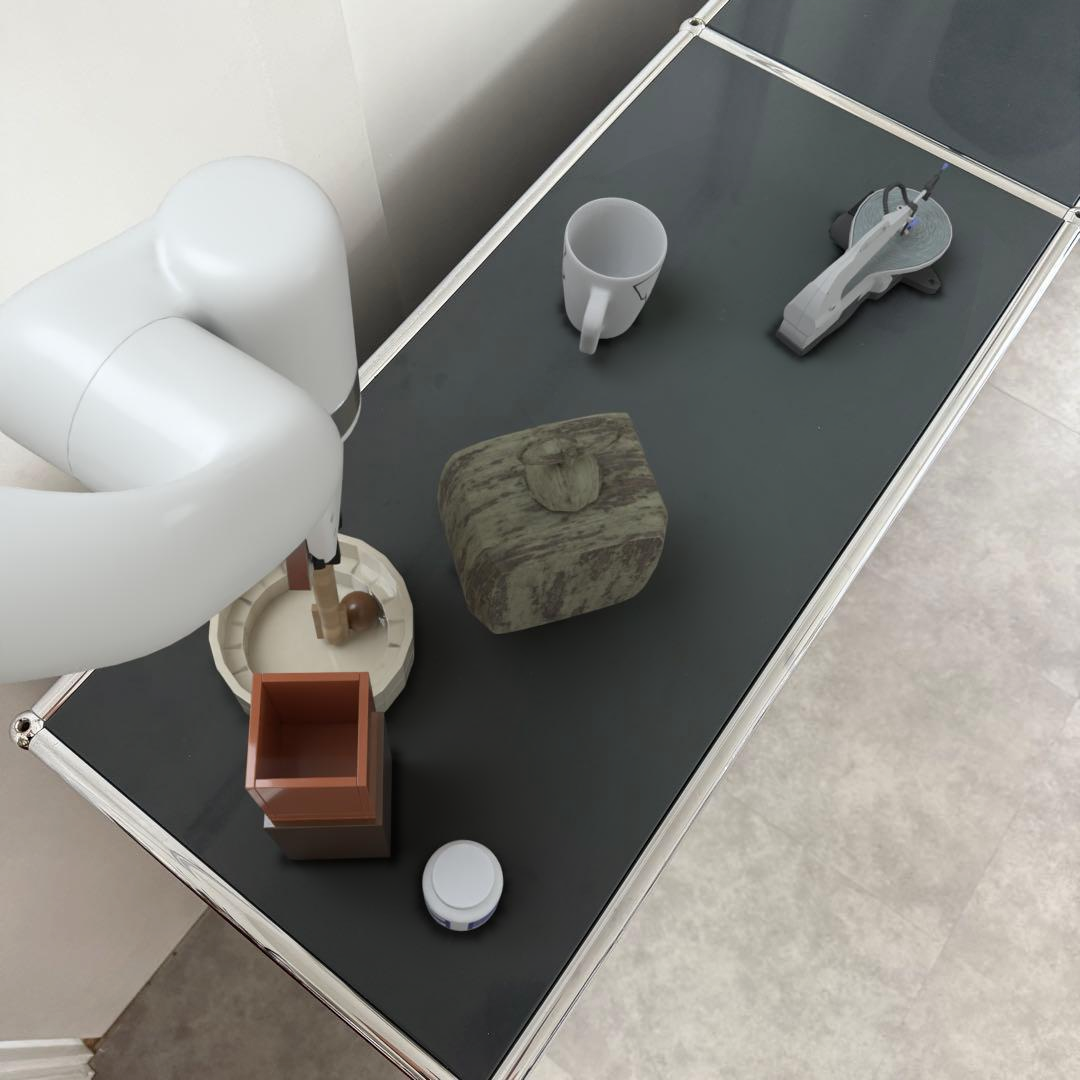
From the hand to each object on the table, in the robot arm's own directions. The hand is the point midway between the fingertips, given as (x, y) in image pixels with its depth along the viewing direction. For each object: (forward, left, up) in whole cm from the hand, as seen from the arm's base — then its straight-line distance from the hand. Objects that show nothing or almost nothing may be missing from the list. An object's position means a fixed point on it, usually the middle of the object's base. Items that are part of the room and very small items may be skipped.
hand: (316, 542), depth 70 cm
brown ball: (+2, 0, -14) cm, 14 cm away
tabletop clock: (+16, +3, -16) cm, 23 cm away
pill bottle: (+9, -20, -16) cm, 27 cm away
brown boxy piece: (+1, -14, -16) cm, 21 cm away
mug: (+22, +28, -16) cm, 39 cm away
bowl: (-1, -2, -16) cm, 16 cm away
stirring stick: (0, -1, -14) cm, 14 cm away
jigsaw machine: (+46, +33, -16) cm, 59 cm away
